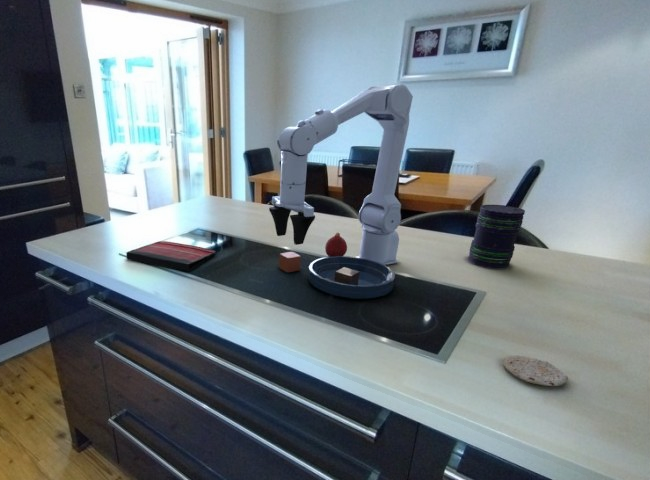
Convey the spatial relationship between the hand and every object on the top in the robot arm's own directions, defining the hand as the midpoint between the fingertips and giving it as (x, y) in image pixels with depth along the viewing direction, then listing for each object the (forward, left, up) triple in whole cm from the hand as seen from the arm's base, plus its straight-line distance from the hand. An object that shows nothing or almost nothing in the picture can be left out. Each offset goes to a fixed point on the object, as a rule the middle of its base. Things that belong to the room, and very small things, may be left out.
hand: (289, 239), depth 94 cm
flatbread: (-13, +50, -10) cm, 53 cm away
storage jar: (-55, +15, -10) cm, 58 cm away
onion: (-18, -4, -10) cm, 21 cm away
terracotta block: (-3, -4, -10) cm, 11 cm away
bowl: (-11, +10, -10) cm, 18 cm away
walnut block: (-8, +12, -9) cm, 17 cm away
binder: (+22, -26, -10) cm, 35 cm away
